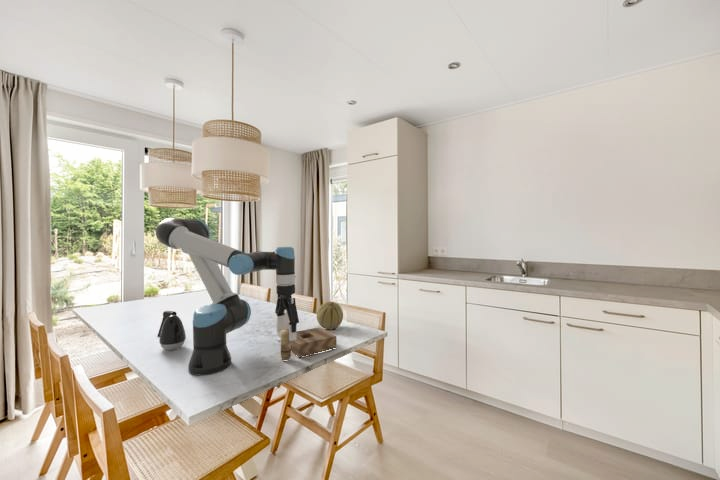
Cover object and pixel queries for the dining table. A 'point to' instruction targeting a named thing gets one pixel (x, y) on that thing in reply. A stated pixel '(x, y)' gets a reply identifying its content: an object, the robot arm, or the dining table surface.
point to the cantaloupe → (329, 315)
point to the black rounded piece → (165, 315)
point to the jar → (286, 324)
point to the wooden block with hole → (312, 341)
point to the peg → (285, 345)
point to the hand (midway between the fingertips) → (286, 335)
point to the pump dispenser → (172, 333)
